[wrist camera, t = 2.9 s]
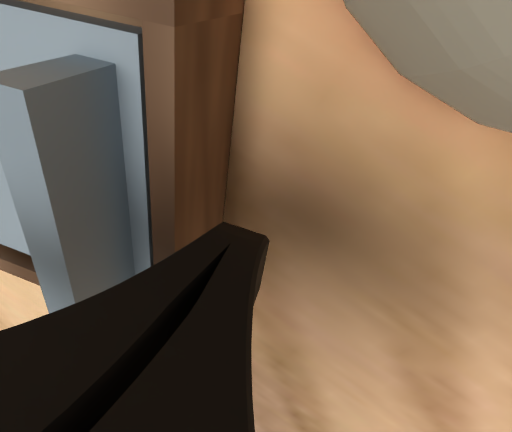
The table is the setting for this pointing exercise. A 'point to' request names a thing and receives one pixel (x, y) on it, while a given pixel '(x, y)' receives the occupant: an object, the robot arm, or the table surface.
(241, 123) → the table surface
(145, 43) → the box
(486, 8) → the kitchen timer
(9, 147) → the lid
